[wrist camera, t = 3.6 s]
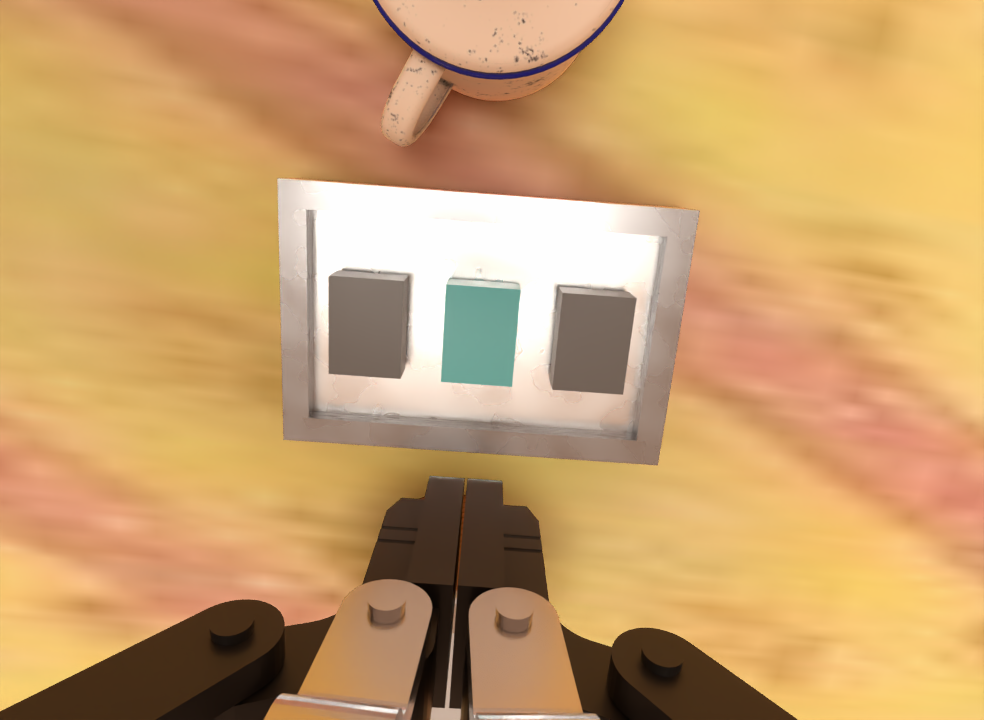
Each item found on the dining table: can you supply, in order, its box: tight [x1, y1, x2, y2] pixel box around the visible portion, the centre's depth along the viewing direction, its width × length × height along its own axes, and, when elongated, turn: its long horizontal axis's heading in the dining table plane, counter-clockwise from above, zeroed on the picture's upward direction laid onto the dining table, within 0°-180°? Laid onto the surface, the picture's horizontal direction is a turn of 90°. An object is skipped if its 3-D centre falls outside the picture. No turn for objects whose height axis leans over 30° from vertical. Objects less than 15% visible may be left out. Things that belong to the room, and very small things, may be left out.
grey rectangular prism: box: [328, 270, 409, 379], centre depth 28 cm, size 4×3×2 cm
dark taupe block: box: [549, 287, 637, 395], centre depth 28 cm, size 4×3×2 cm
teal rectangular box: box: [441, 278, 521, 387], centre depth 28 cm, size 4×3×2 cm
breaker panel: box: [277, 178, 700, 465], centre depth 29 cm, size 12×18×3 cm, turn 86°
